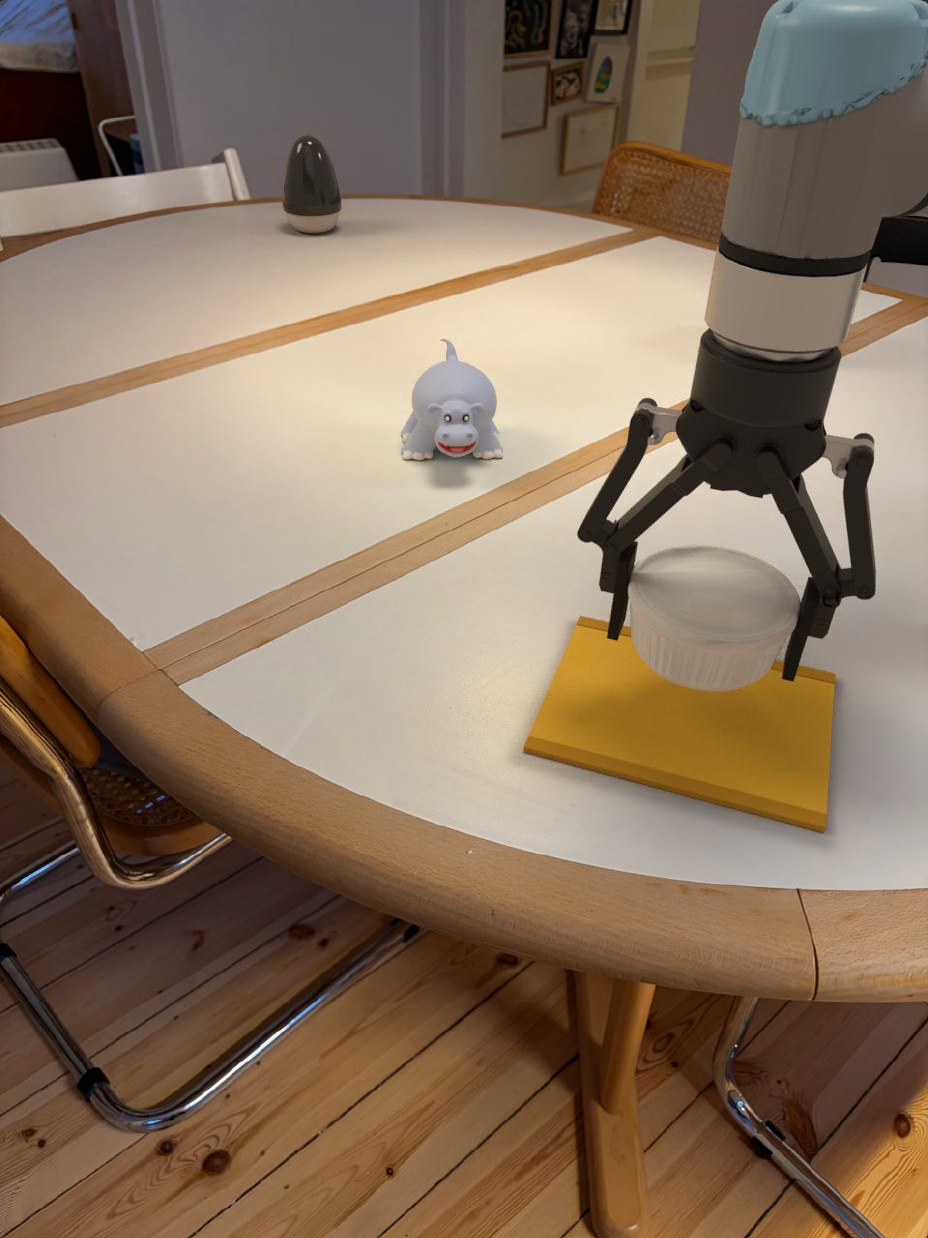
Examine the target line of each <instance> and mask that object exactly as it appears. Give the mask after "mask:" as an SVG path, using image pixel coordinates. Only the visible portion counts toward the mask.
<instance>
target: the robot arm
mask: <svg viewBox="0 0 928 1238" xmlns="http://www.w3.org/2000/svg"><path fill="white" fill-rule="evenodd" d="M739 104H740V105H739V111H738V112H739V114H740V116H739V123H738V131H737V134H736V135H737V136H736V141H735V147H734V151H733V152H734V153H733V158H732V164H731V170H730V176H729V181H728V188H727V193H726V199H725V203H724V204H725V205H724V210H723V216H722V221H721V227H720V231H721V232H720V235H719V240H718V245H717V246H716V249H715V256H714V262H713V267H712V273H711V279H710V283H709V290H708V296H707V301H706V306H705V307H706V308H705V312H704V322H705V324H706V326H707V327H708V328H707V329H706V330H705V331H704V332H703V333H702V334H701V336H700V340H699V345H698V346H699V347H698V351H697V357H696V362H695V367H694V373H693V379H692V382H691V383H692V384H691V389H690V395H689V399H688V402H687V403H686V404H685V405H684V407H683V408H681V410H679V409H673V408H666V407H662V406H661V407H660V406H658V403H657V401H656V400H655V399H653V398H651V397H644V398H642V399H641V400H639V402H638V403H637V405H636V408H635V409H634V411H633V414H632V416H631V418H630V420H629V427H628V433H627V439H626V440H627V441H626V443H625V446H624V447H623V449H622V451H621V453H620V455H619V456H618V458H617V460H616V461H615V463H614V464H613V467H612V468H611V470H610V472H609V473H608V475H607V477H606V479H605V480H604V482H603V484H602V485H601V487H600V489H599V491H598V493H597V494H596V496H595V497H594V499H593V501H592V502H591V504H590V506H589V508H588V510H587V512H586V513H585V515H584V517H583V520H582V522H581V523H580V525H579V528H578V530H577V531H576V536H577V538H578V540H579V541H581V542H582V543H585V544H586V543H587V544H588V543H589V544H590V543H593V544H594V545H596V546H598V548H600V550H601V552H602V559H601V565H600V573H599V581H598V587H599V589H600V591H601V592H604V593H609V594H613V595H612V601H611V607H610V608H611V609H610V615H609V621H608V622H609V627H608V634H607V639H612V640H616V641H618V638H619V635H620V633H621V630H622V627H623V625H624V624H625V622H626V618H627V613H628V607H629V606H628V605H629V602H630V600H629V596H628V583H629V578H630V574H631V571H632V569H633V568H634V566H635V565H636V558H637V552H638V544H639V541H636V540H638V538H640V537H641V536H642V535H643V534H644V533H645V532H646V531H647V530H648V529H650V527H652V526H653V525H654V524H655V523H656V522H657V521H658V520H659V519H661V518H663V516H664V515H666V513H667V512H669V511H670V510H671V509H672V508H673V507H674V506H675V505H676V504H677V503H678V502H680V501H681V500H682V499H683V498H685V497H688V496H689V495H690V494H691V493H693V492H694V491H695V490H696V489H698V487H699V486H701V485H702V484H703V483H705V484H707V485H709V486H710V487H709V489H710V490H715V491H719V492H720V491H721V492H727V491H728V492H733V491H737V492H739V493H741V494H743V495H746V496H748V497H753V498H758V499H763V498H764V496H768V495H771V496H772V498H773V501H774V503H775V505H776V507H777V509H778V512H779V513H780V514H781V515H783V517H784V519H785V522H786V524H787V525H788V528H789V530H790V532H791V534H792V536H793V539H794V541H795V543H796V545H797V547H798V550H799V552H800V553H801V556H802V558H803V561H804V562H805V565H806V567H807V569H808V572H809V574H810V576H808V577H807V581H806V584H805V587H804V591H803V593H802V597H801V599H800V601H801V611H800V616H799V620H798V623H797V625H796V627H795V629H794V630H793V632H792V633H791V634H790V637H789V641H788V644H787V647H786V649H785V650H786V651H785V653H784V659H783V662H784V666H783V674H782V679H784V680H788V681H792V682H794V679H795V676H796V672H797V669H798V666H799V665H800V663H801V659H802V657H803V653H804V650H805V648H806V643H807V641H808V637H809V638H810V637H811V638H813V639H819V640H823V639H824V638H825V637H826V636H827V635H828V633H829V631H830V627H831V625H832V621H833V618H834V617H835V614H836V613H835V612H836V610H837V608H839V606H840V605H841V604H842V600H843V599H845V598H849V597H856V598H857V599H859V600H862V601H868V600H870V599H872V598H874V597H875V595H876V592H877V590H876V586H877V584H876V583H877V567H876V558H875V549H874V539H873V538H874V537H873V529H872V520H871V508H870V499H869V491H868V489H869V488H868V482H869V479H870V476H871V473H872V469H873V466H874V463H875V438H874V437H873V435H871V434H870V433H868V432H861V433H858V434H855V436H854V437H853V438H851V437H850V438H849V437H844V436H837V435H832V434H828V433H827V431H826V427H825V418H826V414H827V410H828V408H829V404H830V400H831V396H832V392H833V388H834V386H835V381H836V378H837V374H838V371H839V367H840V364H841V361H842V360H841V359H842V352H841V349H840V348H839V345H840V344H843V343H844V342H845V341H846V340H847V338H848V336H849V332H850V328H851V325H852V321H853V318H854V314H855V311H856V307H857V304H858V300H859V296H860V293H861V288H862V286H863V283H864V279H865V275H866V271H867V267H868V265H869V261H870V257H871V253H872V250H873V248H874V247H873V246H874V244H875V240H876V237H877V234H878V231H879V228H880V225H881V222H882V219H883V218H900V217H913V216H915V217H916V216H928V0H777V1H775V2H774V4H772V6H771V7H770V8H769V9H768V10H767V11H766V14H765V15H764V17H763V20H762V22H761V25H760V29H759V32H758V37H757V40H756V44H755V47H754V48H753V52H752V57H751V59H750V63H749V64H748V68H747V72H746V75H745V82H744V92H743V94H742V97H741V98H740V103H739ZM669 433H675V434H676V436H677V438H678V441H679V442H680V444H681V445H682V447H683V449H684V451H685V453H686V454H684V456H682V457H681V459H680V460H679V462H678V463H677V464H676V466H675V467H674V468H673V469H671V470H670V471H669V472H668V473H667V474H665V476H664V477H662V479H660V480H659V481H658V482H657V483H656V484H655V485H654V486H653V487H652V488H651V489H650V490H649V491H648V492H646V494H644V495H643V496H642V497H641V498H640V499H639V500H638V501H637V502H636V503H635V504H634V505H632V507H630V508H629V509H628V510H627V511H626V512H625V513H624V514H623V515H622V516H621V517H619V519H615V520H614V521H611V520H609V519H608V517H609V515H610V514H611V513H612V511H613V510H614V507H615V506H616V504H617V502H618V501H619V499H620V497H621V496H622V494H623V492H624V491H625V489H626V487H627V485H629V482H630V481H631V479H632V477H633V476H634V474H635V472H636V471H637V469H638V468H639V465H640V464H641V462H642V460H643V458H644V456H645V454H646V451H647V449H648V448H649V446H656V445H660V444H661V443H662V441H663V440H664V438H665V436H666V435H667V434H669ZM821 458H825V459H827V460H828V461H829V462H830V465H831V473H832V474H833V475H834V476H835V477H836V478H839V479H840V480H841V479H843V485H842V486H843V487H842V501H843V509H844V510H843V511H844V518H845V519H844V520H845V527H846V535H847V536H846V537H847V543H848V544H847V545H848V552H849V553H848V554H849V560H850V567H844V568H843V567H841V565H840V562H839V560H838V558H837V555H836V553H835V551H834V549H833V546H832V544H831V542H830V540H829V538H828V537H829V536H827V533H826V531H825V528H824V526H823V524H822V522H821V519H820V517H819V515H818V513H817V510H816V508H815V506H814V504H813V501H812V499H811V496H810V495H809V492H808V490H807V487H806V482H805V481H806V480H805V479H804V476H803V474H802V473H804V472H805V471H806V470H808V469H809V468H811V467H812V466H813V465H814V464H816V463H817V462H818V461H820V460H821Z"/></svg>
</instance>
